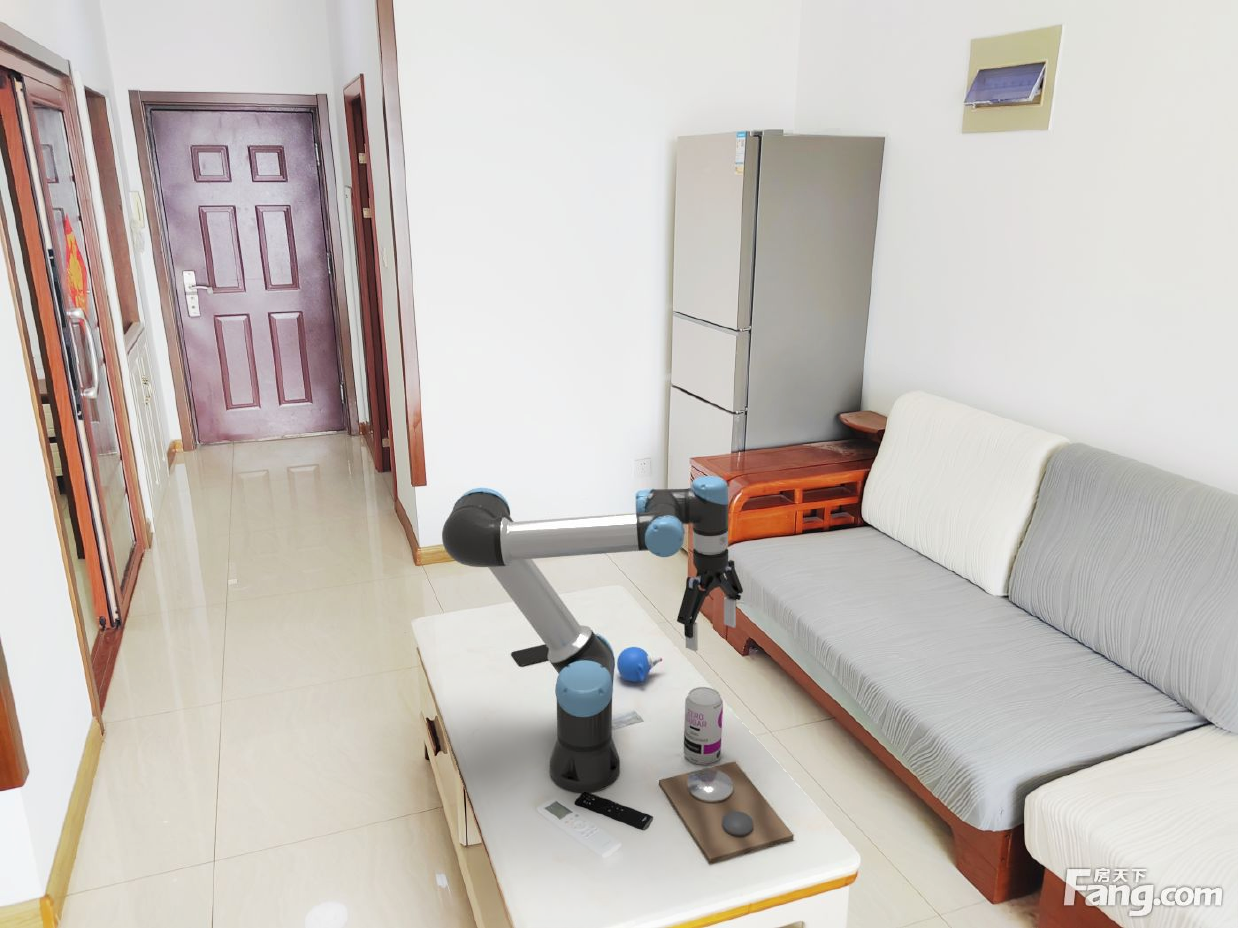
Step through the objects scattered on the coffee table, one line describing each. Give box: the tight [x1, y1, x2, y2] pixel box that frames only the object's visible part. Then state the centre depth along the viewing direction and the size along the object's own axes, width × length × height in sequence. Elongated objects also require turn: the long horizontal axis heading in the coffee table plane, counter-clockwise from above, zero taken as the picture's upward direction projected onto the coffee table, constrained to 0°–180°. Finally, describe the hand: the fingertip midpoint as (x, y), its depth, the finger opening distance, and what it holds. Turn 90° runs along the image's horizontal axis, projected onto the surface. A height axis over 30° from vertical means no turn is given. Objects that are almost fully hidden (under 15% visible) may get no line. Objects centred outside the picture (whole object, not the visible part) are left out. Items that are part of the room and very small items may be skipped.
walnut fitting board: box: [658, 760, 795, 865], centre depth 178 cm, size 18×24×1 cm
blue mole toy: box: [616, 646, 663, 683], centre depth 224 cm, size 12×12×8 cm
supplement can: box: [683, 686, 724, 766], centre depth 193 cm, size 8×8×15 cm
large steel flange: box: [687, 768, 733, 803], centre depth 183 cm, size 10×10×1 cm
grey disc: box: [722, 811, 753, 837], centre depth 172 cm, size 6×6×1 cm
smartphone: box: [510, 643, 550, 668], centre depth 236 cm, size 8×1×16 cm
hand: (711, 636), depth 194 cm, fingers open, 13 cm apart
